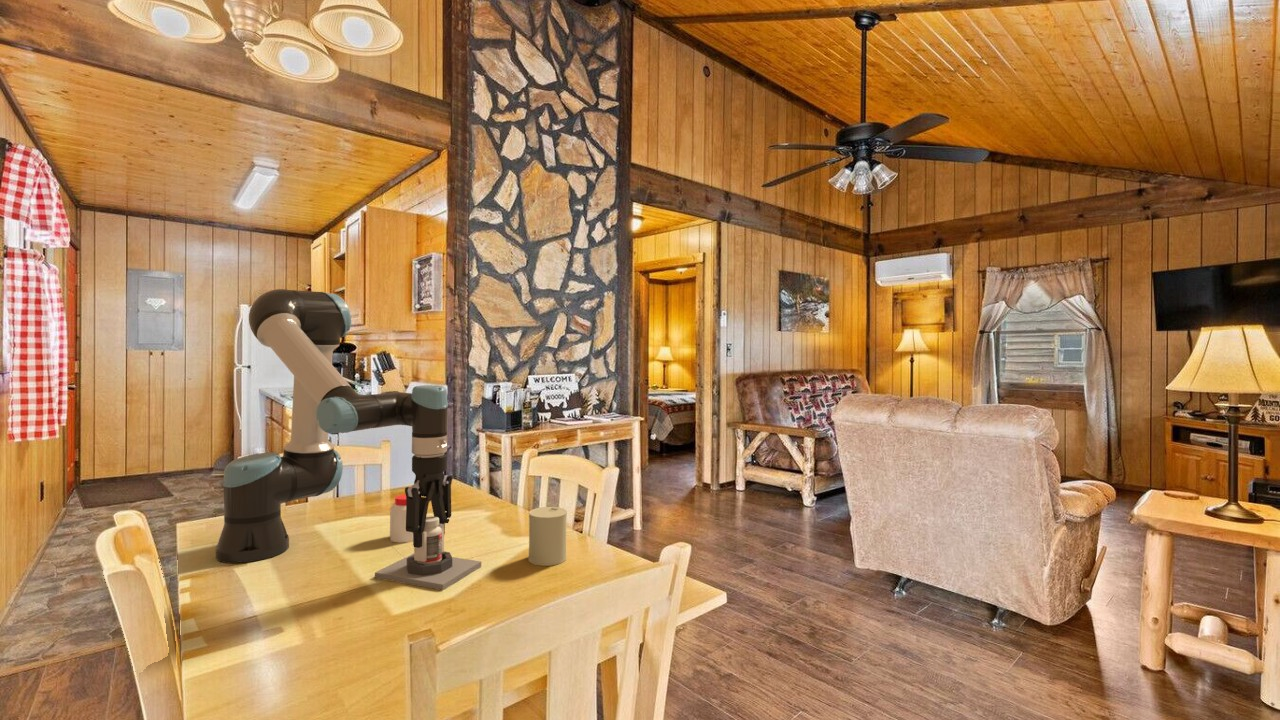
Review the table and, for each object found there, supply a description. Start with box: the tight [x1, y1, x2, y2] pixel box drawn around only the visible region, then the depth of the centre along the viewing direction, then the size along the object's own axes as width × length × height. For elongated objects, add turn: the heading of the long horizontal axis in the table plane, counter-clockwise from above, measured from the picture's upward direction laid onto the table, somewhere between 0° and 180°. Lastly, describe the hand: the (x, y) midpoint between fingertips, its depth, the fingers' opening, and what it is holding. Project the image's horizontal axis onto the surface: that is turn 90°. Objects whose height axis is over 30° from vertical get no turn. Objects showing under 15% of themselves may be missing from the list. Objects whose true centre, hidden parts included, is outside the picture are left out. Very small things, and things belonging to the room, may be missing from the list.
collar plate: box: [374, 551, 482, 591], centre depth 135 cm, size 18×14×3 cm
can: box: [527, 506, 568, 567], centre depth 145 cm, size 9×9×12 cm
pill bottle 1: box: [389, 493, 413, 544], centre depth 158 cm, size 8×8×11 cm
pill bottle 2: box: [417, 515, 442, 565], centre depth 135 cm, size 5×5×10 cm
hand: (429, 555), depth 135 cm, fingers closed on pill bottle 2, 5 cm apart
